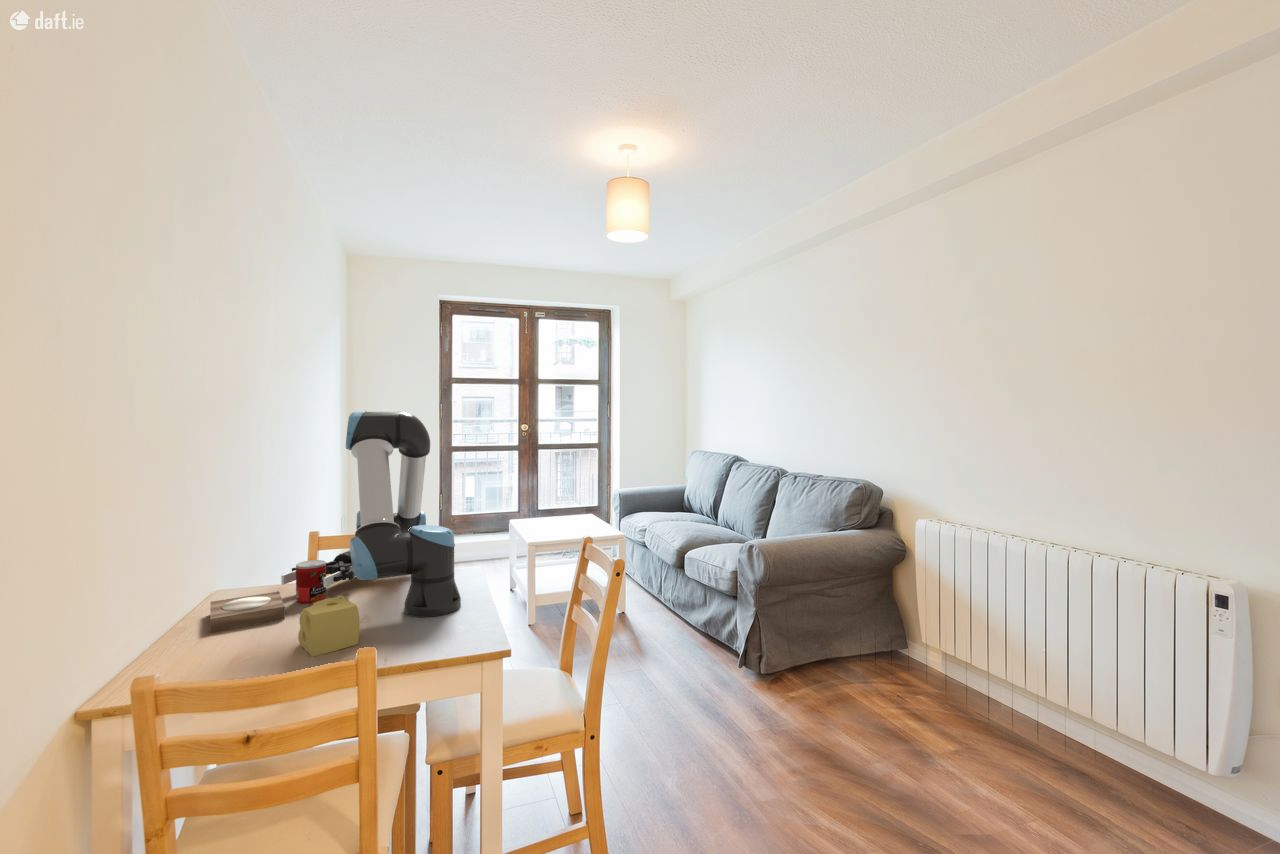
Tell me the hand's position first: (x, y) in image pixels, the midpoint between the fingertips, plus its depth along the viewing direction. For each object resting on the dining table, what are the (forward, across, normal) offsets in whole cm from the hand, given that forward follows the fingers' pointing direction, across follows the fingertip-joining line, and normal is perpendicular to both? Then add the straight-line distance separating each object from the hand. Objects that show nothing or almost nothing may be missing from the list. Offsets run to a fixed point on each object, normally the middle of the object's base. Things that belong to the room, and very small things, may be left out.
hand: (303, 581), depth 169 cm
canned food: (-3, 0, -7) cm, 7 cm away
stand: (+12, +7, -6) cm, 16 cm away
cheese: (+26, -28, -7) cm, 38 cm away
